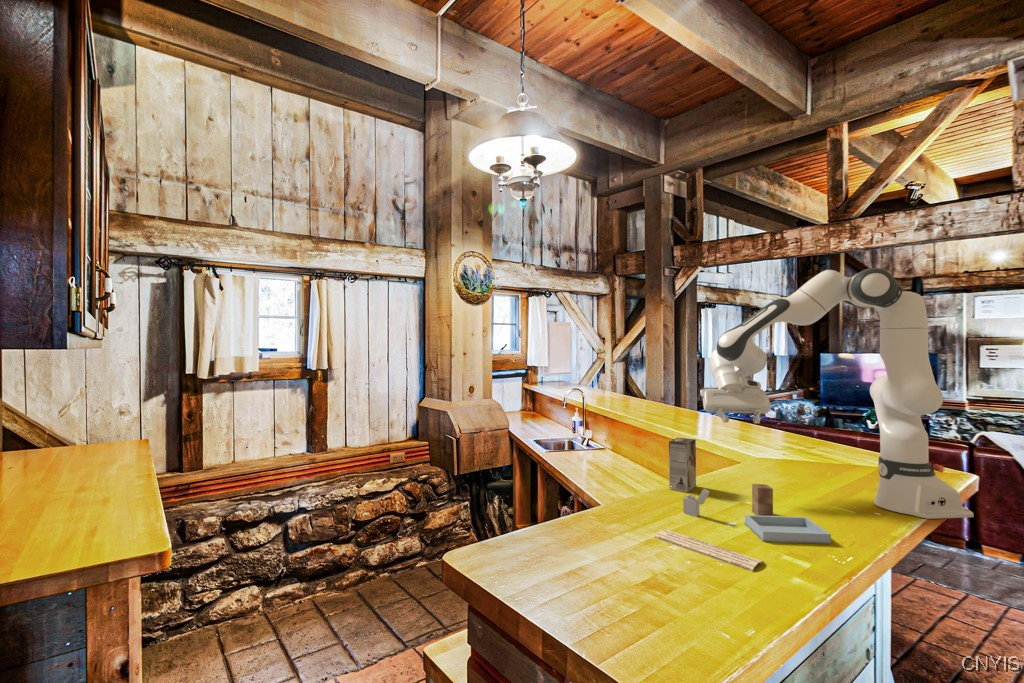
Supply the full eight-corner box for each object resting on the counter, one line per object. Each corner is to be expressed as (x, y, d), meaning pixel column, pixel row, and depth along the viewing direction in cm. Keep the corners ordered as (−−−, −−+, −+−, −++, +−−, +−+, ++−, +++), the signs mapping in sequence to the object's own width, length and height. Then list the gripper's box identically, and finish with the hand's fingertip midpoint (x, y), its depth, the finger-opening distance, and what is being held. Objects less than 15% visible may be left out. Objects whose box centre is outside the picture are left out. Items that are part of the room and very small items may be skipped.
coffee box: (677, 483, 167) (677, 436, 167) (696, 486, 163) (696, 439, 163) (668, 489, 159) (668, 441, 159) (688, 492, 155) (688, 443, 156)
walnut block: (766, 512, 137) (766, 484, 137) (772, 517, 133) (772, 488, 133) (752, 511, 138) (752, 483, 138) (757, 516, 134) (757, 488, 134)
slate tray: (806, 526, 127) (806, 517, 127) (831, 544, 115) (830, 534, 115) (744, 523, 128) (744, 514, 128) (763, 541, 117) (763, 531, 117)
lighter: (682, 513, 137) (682, 484, 137) (686, 511, 138) (686, 483, 138) (706, 519, 131) (706, 490, 131) (709, 518, 132) (709, 489, 132)
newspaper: (654, 540, 119) (654, 533, 119) (670, 533, 123) (670, 526, 124) (752, 575, 101) (752, 566, 101) (766, 565, 106) (766, 557, 106)
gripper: (700, 381, 159) (709, 415, 150) (765, 382, 157) (778, 416, 148) (697, 393, 164) (705, 426, 154) (759, 394, 162) (772, 428, 152)
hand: (741, 421), depth 151 cm, fingers open, 8 cm apart
